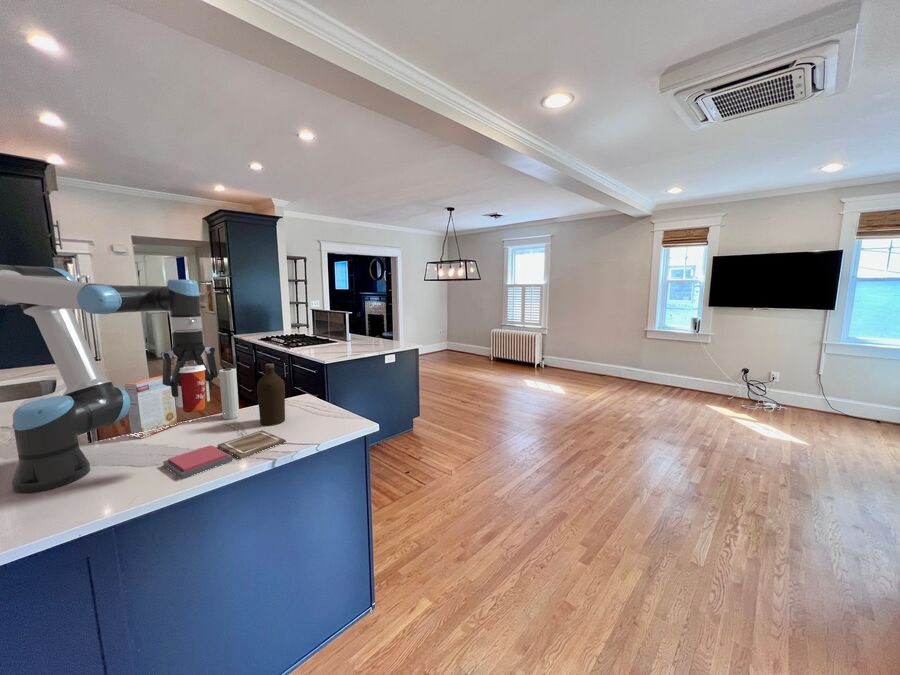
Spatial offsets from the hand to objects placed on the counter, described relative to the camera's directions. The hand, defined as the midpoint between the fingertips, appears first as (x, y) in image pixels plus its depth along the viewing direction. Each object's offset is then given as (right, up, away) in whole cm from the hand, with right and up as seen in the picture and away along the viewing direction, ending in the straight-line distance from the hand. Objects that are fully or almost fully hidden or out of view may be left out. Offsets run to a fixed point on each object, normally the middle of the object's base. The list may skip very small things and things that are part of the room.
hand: (193, 403), depth 112 cm
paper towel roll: (-15, -15, +45) cm, 49 cm away
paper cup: (0, -2, 0) cm, 2 cm away
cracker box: (-36, -16, +28) cm, 48 cm away
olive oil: (+5, -15, +39) cm, 43 cm away
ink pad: (0, -20, +3) cm, 20 cm away
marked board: (+9, -18, +17) cm, 26 cm away
